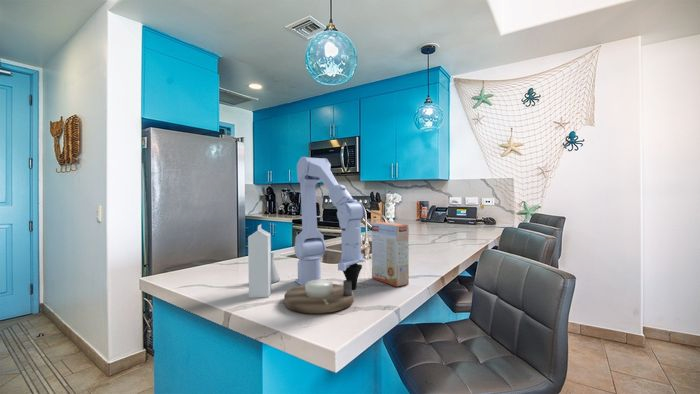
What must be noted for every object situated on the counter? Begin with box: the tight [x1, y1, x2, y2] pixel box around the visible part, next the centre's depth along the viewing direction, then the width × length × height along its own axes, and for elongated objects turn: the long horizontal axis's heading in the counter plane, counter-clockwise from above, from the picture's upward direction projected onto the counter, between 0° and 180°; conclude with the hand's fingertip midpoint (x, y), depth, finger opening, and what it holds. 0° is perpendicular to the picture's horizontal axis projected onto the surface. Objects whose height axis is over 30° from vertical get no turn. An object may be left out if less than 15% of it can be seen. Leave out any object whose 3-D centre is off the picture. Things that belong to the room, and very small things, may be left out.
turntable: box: [283, 279, 354, 314], centre depth 93 cm, size 20×20×6 cm
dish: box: [305, 279, 334, 298], centre depth 93 cm, size 8×8×3 cm
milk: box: [247, 223, 272, 299], centre depth 100 cm, size 6×6×22 cm
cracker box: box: [371, 221, 410, 288], centre depth 113 cm, size 14×6×21 cm, turn 33°
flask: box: [271, 252, 281, 284], centre depth 115 cm, size 7×7×10 cm
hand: (351, 289), depth 93 cm, fingers closed
